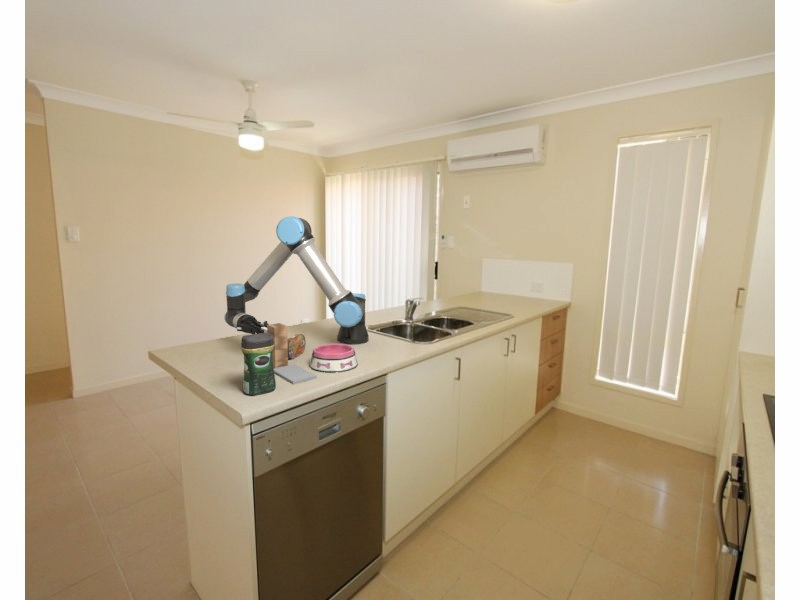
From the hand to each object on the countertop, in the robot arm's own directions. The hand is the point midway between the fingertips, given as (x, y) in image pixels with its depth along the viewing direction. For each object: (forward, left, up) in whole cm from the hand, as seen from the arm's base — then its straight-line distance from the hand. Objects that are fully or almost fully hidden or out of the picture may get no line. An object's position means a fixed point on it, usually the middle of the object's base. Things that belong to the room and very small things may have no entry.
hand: (269, 333), depth 146 cm
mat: (-5, +16, -12) cm, 21 cm away
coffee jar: (+8, +26, -12) cm, 29 cm away
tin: (-11, -6, -12) cm, 18 cm away
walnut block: (-2, +5, -12) cm, 13 cm away
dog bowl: (-22, +11, -12) cm, 27 cm away
